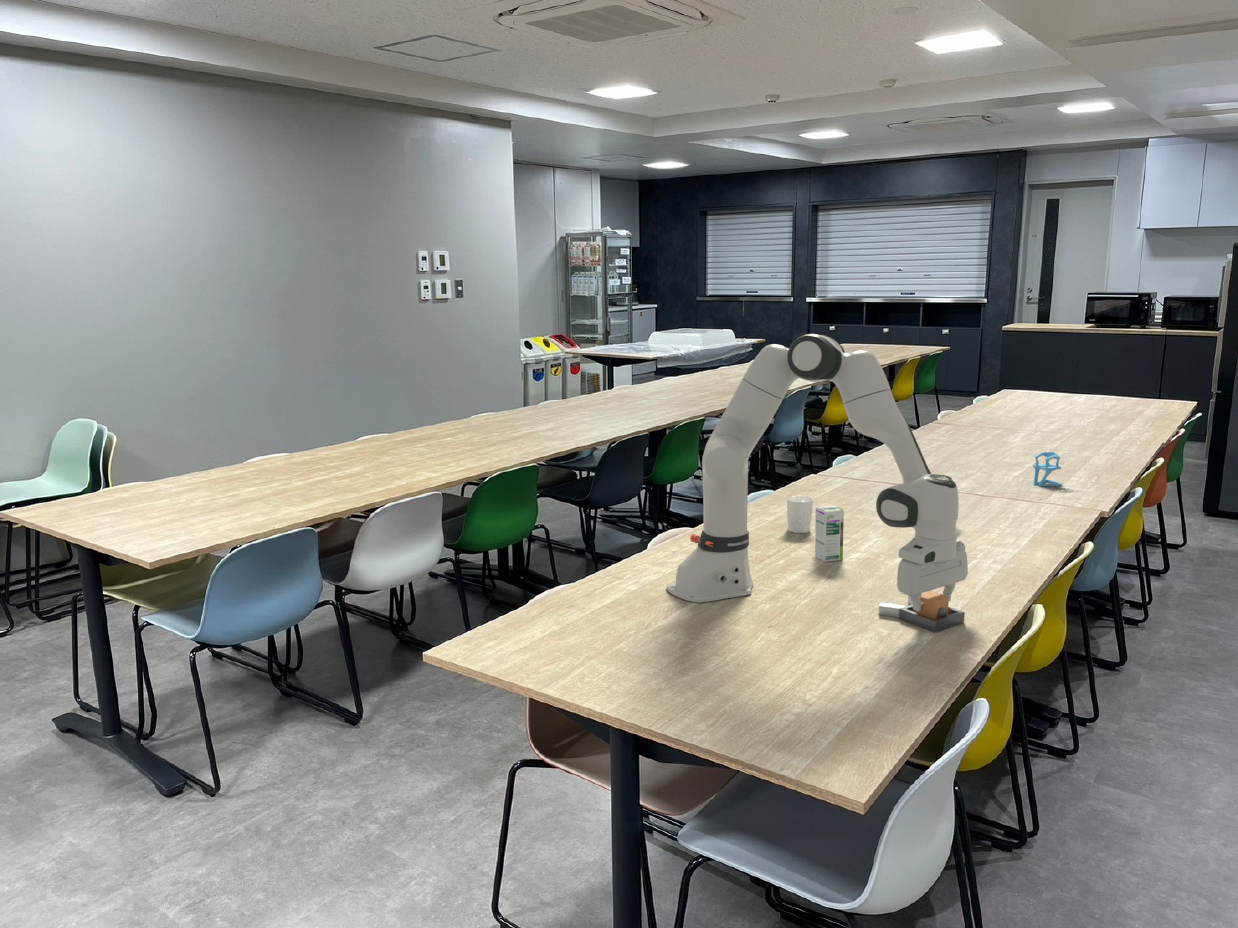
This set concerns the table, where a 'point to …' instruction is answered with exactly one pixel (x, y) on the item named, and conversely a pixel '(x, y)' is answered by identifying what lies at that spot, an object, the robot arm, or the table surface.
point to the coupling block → (934, 605)
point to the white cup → (799, 513)
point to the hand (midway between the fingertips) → (931, 605)
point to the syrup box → (829, 533)
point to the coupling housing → (922, 616)
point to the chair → (1046, 469)
